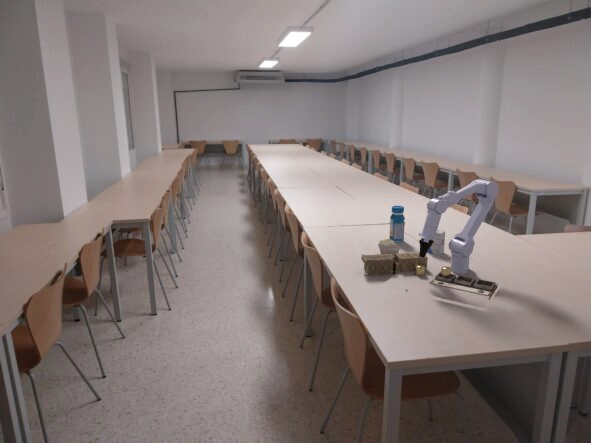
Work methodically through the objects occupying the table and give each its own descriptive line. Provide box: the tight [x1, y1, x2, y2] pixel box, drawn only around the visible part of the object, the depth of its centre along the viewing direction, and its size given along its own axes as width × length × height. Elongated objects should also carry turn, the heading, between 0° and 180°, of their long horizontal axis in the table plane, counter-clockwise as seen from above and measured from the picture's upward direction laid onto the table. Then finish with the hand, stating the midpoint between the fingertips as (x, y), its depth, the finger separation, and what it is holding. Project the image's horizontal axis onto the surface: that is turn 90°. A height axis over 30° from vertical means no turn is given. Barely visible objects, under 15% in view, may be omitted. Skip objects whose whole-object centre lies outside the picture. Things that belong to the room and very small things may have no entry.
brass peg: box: [414, 265, 426, 277], centre depth 190 cm, size 4×4×5 cm
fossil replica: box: [377, 238, 400, 256], centre depth 220 cm, size 12×8×10 cm
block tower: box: [361, 251, 429, 276], centre depth 197 cm, size 8×8×29 cm
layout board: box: [429, 271, 498, 300], centre depth 178 cm, size 14×24×3 cm, turn 54°
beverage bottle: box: [388, 205, 406, 243], centre depth 242 cm, size 8×8×20 cm
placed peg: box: [440, 265, 452, 279], centre depth 184 cm, size 4×4×5 cm
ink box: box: [427, 229, 446, 256], centre depth 222 cm, size 9×5×12 cm, turn 47°
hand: (422, 255), depth 185 cm, fingers open, 7 cm apart
